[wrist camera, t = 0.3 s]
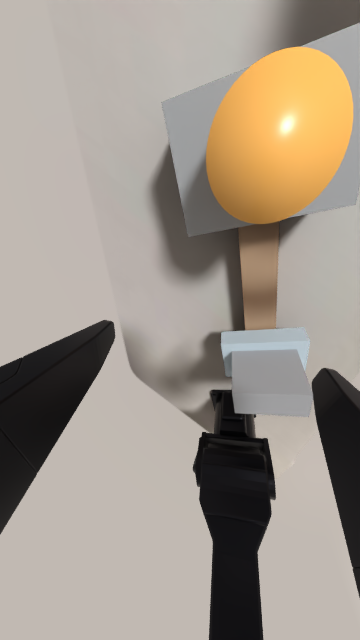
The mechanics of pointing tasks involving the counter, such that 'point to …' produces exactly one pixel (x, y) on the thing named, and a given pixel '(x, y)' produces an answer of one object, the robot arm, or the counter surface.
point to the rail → (259, 274)
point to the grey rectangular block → (194, 126)
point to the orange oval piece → (279, 135)
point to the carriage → (268, 371)
